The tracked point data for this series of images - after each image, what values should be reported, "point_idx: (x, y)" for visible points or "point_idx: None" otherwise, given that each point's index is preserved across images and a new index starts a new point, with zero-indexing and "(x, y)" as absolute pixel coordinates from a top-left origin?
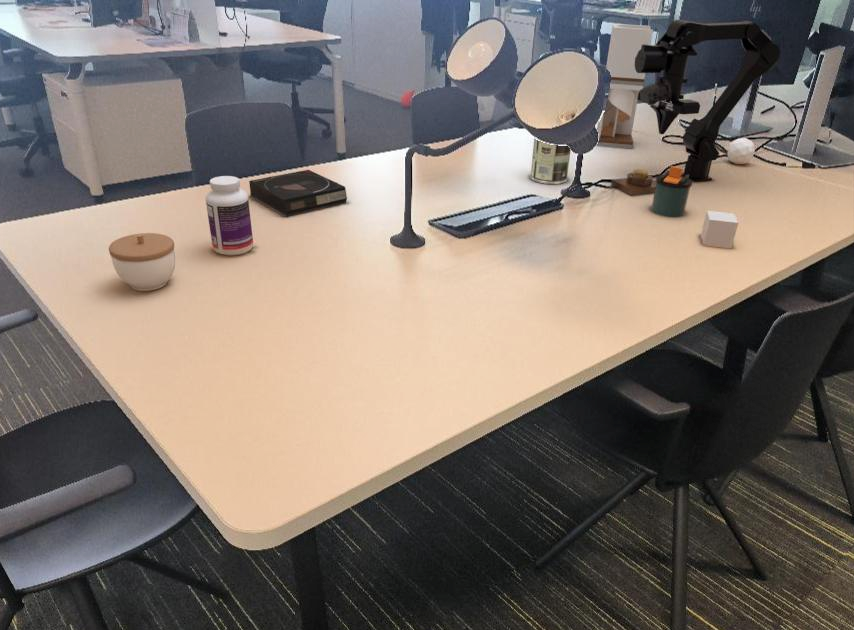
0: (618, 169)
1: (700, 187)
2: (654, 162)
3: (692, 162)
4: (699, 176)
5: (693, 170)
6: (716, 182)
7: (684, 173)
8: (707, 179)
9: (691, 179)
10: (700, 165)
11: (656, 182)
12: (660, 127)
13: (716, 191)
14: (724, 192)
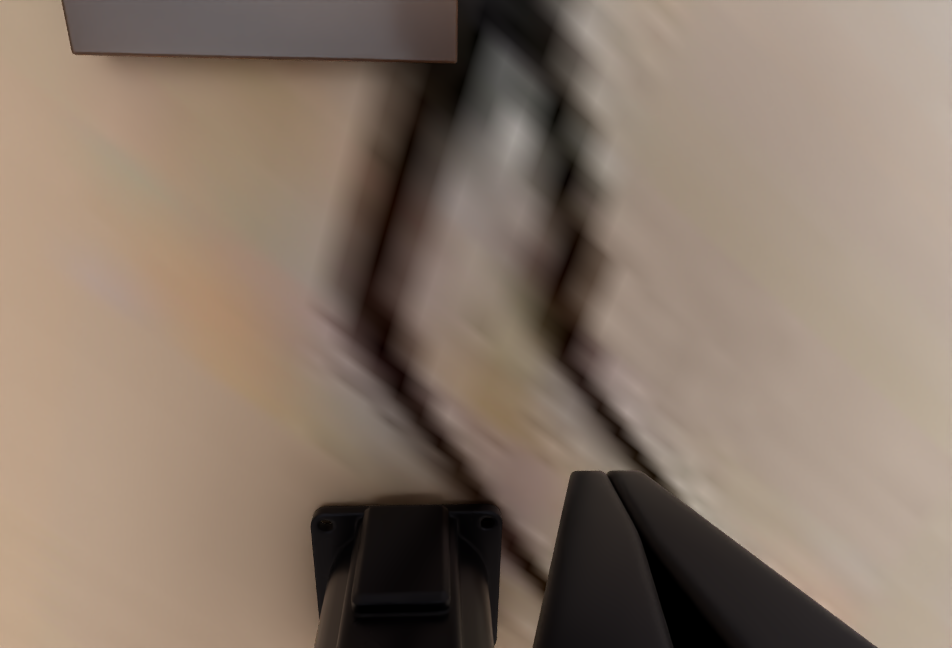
0: (892, 93)
1: (185, 465)
2: (853, 535)
3: (378, 616)
4: (330, 574)
5: (352, 567)
6: (275, 637)
7: (432, 516)
8: (319, 611)
9: (353, 509)
10: (323, 643)
11: (202, 28)
12: (652, 554)
13: (68, 513)
14: (38, 550)
